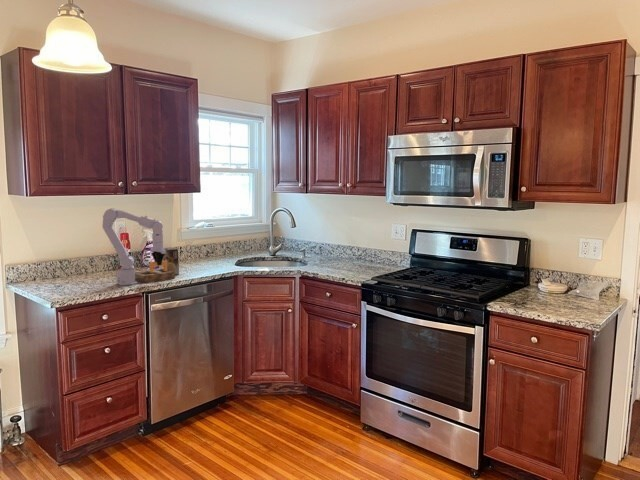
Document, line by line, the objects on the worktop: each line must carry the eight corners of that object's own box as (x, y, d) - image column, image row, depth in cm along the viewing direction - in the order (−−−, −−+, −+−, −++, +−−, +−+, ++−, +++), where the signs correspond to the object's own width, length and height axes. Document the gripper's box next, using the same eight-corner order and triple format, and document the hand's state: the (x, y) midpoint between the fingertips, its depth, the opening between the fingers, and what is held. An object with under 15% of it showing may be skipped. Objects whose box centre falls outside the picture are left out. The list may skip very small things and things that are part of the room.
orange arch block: (150, 272, 271) (150, 262, 270) (149, 272, 272) (149, 262, 272) (167, 270, 278) (167, 260, 278) (166, 270, 280) (165, 260, 279)
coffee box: (179, 272, 306) (178, 248, 304) (179, 274, 300) (178, 249, 298) (164, 273, 304) (163, 248, 302) (163, 275, 298) (163, 250, 296)
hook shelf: (143, 282, 274) (143, 274, 273) (132, 279, 283) (132, 271, 283) (174, 278, 288) (174, 270, 288) (163, 275, 298) (163, 267, 297)
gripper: (170, 242, 271) (171, 265, 273) (158, 240, 281) (158, 262, 283) (158, 243, 266) (159, 267, 268) (146, 240, 276) (147, 263, 278)
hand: (158, 264), depth 275 cm, fingers closed on orange arch block, 2 cm apart
